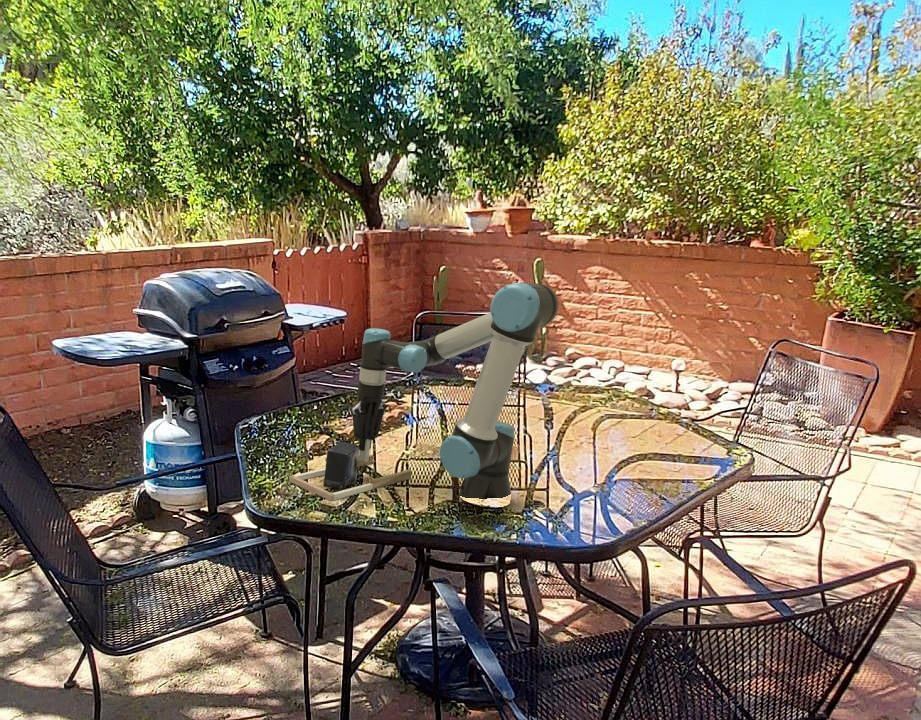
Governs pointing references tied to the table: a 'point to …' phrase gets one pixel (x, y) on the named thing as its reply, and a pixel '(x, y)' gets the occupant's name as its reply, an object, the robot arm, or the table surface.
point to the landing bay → (300, 482)
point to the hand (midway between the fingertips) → (363, 460)
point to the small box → (341, 465)
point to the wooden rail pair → (386, 479)
